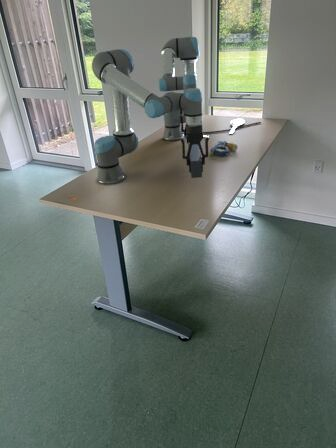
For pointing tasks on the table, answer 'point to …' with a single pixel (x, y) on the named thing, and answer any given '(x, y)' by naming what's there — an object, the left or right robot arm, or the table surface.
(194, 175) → the bar
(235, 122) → the spoon
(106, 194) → the table surface
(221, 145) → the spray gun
